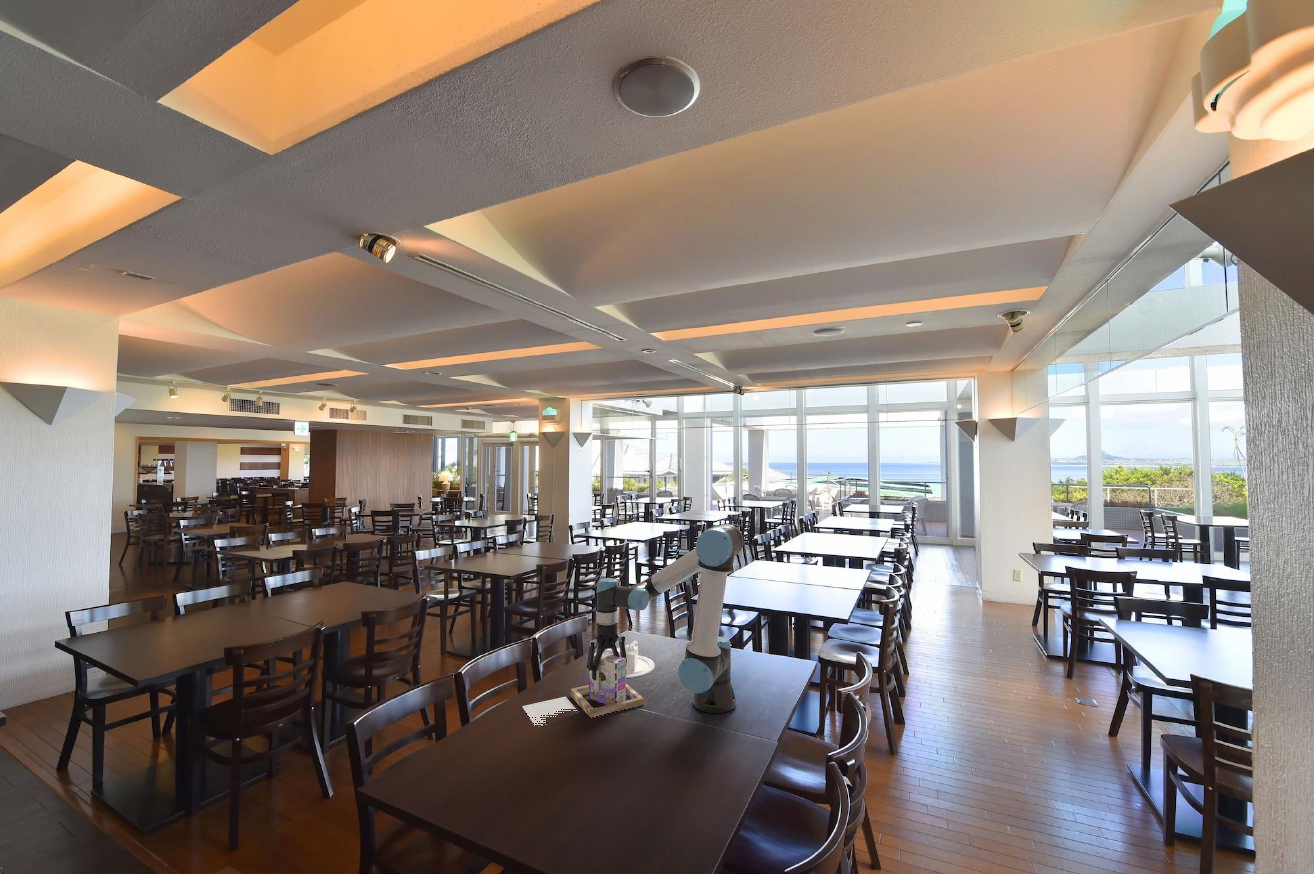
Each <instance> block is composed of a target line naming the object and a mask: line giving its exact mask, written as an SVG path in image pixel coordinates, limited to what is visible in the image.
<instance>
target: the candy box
mask: <svg viewBox="0 0 1314 874" xmlns="http://www.w3.org/2000/svg"><path fill="white" fill-rule="evenodd" d="M596 653H597V651H595V653H594V658H595V656H596ZM593 661H594V660H593ZM597 670H598V671H599V690H596V689H595V688H594V680H593V679H592V671H590V670H589V669H588V685H589V694H588V695H589V696H588V699H589V700H590V701H591V700H592V701H594V702H597V703H599V704H602V703H603V704H602V705H604V706H606V705H610V704H614V703H618V702H623V701H627V694H626V684H627V678H626V658H622V657H619V656H615V655H612V654H609V653H606V652H603V654H602V657H601V660H600V663H599V665H598V668H597Z"/></svg>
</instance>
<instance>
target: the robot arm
mask: <svg viewBox="0 0 1314 874" xmlns="http://www.w3.org/2000/svg"><path fill="white" fill-rule="evenodd" d="M743 546H744V537H743V535H742V532H741V531H740V529H739V528H737V527H736V526H734V525H733V524H728V523H727V524H726V523H724V524H719V525H717V526H713V527H712V526H711V527H709V528H707V529H706V530H704V531H702V532H701V533H700V535H699V536H698V537H697V539H696V543H695V548H694V549H692V550H690V551H689V552H687V553H686V554H684V555H682V556H681V557H679V558H678V559H676V560H674V561H673V562H672V563H669V565H667V566H665V567H663V568H662V569H660V570H659V571H656V572H655V573H654V574H652V575H651V576H649V577H647V578H646V579H644V580H642V581H641V582H638V583H636V584H634V585H632V586H623V585H622V586H621V585H619V584H618V580H617V578H614V577H613V578H612V577H605V578H604V577H603V578H601V579H598V581H597V584H596V637H595V639H593V640H591V639H590V640H588V653H587V654H588V655H587V660H586V661H587V662H586V669H587V670H588V671H589V670H590V671H592V679H593V680H594V688H595V689H596V690H599V671H598V670H597V668H598V665H599V663H600V660H601V657H602V654H603V652H604V650H605V649H612V652H613V654H614V655H615V656H619V653H618V651H617V648H620V654H621V657H622V658H626V663H627V657H626V650H625V645H626V644H625V643H626V636H624V635H623V634H618V608H620V609H625V610H632V611H645V610H646V609H647V608H648V606H649V603H650V601H652V600H654V599H657V598H658V597H659V596H660V595H662V594H663V593H665V592H667V591H668V590H670V589H671V588H674V587H675V586H676V585H678V584H680V583H681V582H683V581H685V580H686V579H689V578H690V577H691V576H693V575H695V574H697V573H698V572H700V577H699V578H700V579H699V586H698V591H697V592H698V593H697V599H696V607H695V615H694V621H693V627H692V634H691V640H689V641H688V642H687V643H686V645H685V650H684V651H685V652H684V659H683V660H681V662H680V664H679V665H678V668H677V669H678V670H677V671H678V672H677V674H678V679H679V681H680V682H681V685H683V687H684V688H685V689H686V690H687V691H689V692H691V693H693V694H692V704H693V706H694V708H696V709H698V710H699V711H702V712H705V713H708V714H724V713H729V712H731V711H733V710H734V709H735V708H736V705H737V703H736V701H737V700H736V695H735V692H734V688H733V685H732V678H731V677H732V675H731V674H732V672H731V670H732V667H731V663H732V662H731V661H732V657H731V656H732V655H731V652H732V648H731V641H730V640H729V639H728V638H726V637H723V636H719V634H720V627H721V621H722V612H723V606H724V600H725V599H724V598H725V594H726V593H725V592H726V584H727V576H728V575H730V574H731V573H732V572H733V569H734V562H735V557H736V556H737V555H739V554H740V553H741V551H742V549H743ZM617 642H618V646H619V647H617V645H616V643H617ZM597 645H598V646H597ZM596 646H597V649H596ZM595 652H597V653H596V656H595V658H594V653H595ZM619 657H620V656H619ZM593 660H594V661H593ZM728 711H729V712H728Z"/></svg>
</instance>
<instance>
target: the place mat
mask: <svg viewBox="0 0 1314 874" xmlns="http://www.w3.org/2000/svg"><path fill="white" fill-rule="evenodd" d="M521 707H522V709H523V710H524V712H525V713H527V714H526V715H527V716H529V717H530V718H529V717H528V718H529V719H530V721H531V722H532V724H533V723H534V724H533V726H535V725H541V726H544V725H543V724H538V723H546V722H543V721H546V720H541V719H546V718H540V717H549V716H546V715H558V714H554V713H562V712H558V711H571V710H563V709H577V708H576V707H575V706H574V704H573V703H572V702H571V701H570V700H569V699H568V698H567V696H562V697H559V698H553V699H548V700H544V701H539V702H535V703H531V704H527V705H523V706H521ZM561 709H562V710H561ZM556 711H557V712H556ZM573 711H578V709H577V710H573ZM548 713H549V714H548ZM563 713H564V712H563ZM541 715H542V716H541ZM543 715H545V716H543ZM532 717H533V718H532ZM535 717H536V718H535ZM550 717H552V716H550ZM553 717H554V716H553ZM555 717H556V716H555ZM535 719H536V720H535ZM537 721H538V722H537ZM539 721H540V722H539ZM535 723H537V724H535Z"/></svg>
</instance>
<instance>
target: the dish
mask: <svg viewBox="0 0 1314 874" xmlns="http://www.w3.org/2000/svg"><path fill="white" fill-rule="evenodd" d="M638 644H639V643H638V640H633V641H632V642H631V643H629V644H625V650H626V657H627V663H626V679H633V678H638V677H639V678H640V677H643V676H646V675H647V674H650V673H651V672H653V671H654V670H655V666H656V664H655V661H653V660H652V659H650V658H649V657H647V656H643V655H639V645H638ZM617 651H618V653H619V656H620V657H621V654H620V647H617ZM604 652H606V653H609V654H612V655H614V654H613V652H612V649H609V648H608V649H605V650H604Z"/></svg>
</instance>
